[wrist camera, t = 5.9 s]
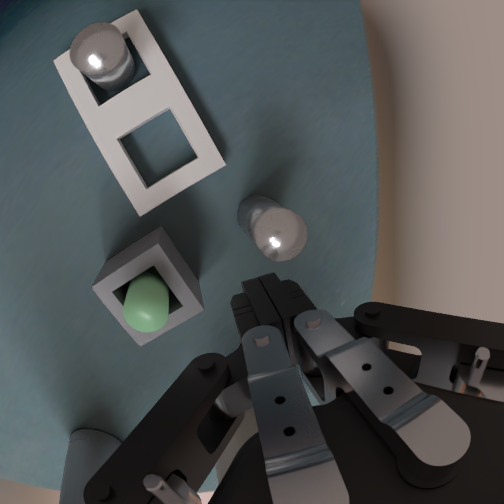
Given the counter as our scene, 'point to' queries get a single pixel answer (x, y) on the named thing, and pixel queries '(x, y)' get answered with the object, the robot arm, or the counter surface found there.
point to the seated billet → (103, 56)
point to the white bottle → (236, 442)
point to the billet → (272, 227)
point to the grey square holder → (137, 261)
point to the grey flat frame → (141, 118)
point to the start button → (147, 301)
